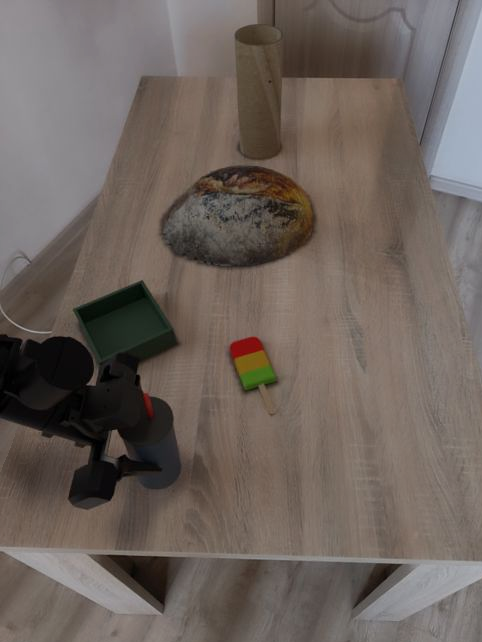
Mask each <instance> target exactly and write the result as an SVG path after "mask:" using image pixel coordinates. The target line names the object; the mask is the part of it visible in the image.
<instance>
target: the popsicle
mask: <svg viewBox="0 0 482 642" xmlns="http://www.w3.org/2000/svg"><path fill="white" fill-rule="evenodd" d="M263 346H264V345H263V344H262V341H261V340H260V338H259V337H257V336H249V337H246V338H241V339H239V340H236V341H233V342H232V343H230V346H229V352H230V355H231V358H232V360H233V363H234V366H235V368H236V371H237V373H238V376H239V379H240V381H241V384H242V386H243V389H244V390H245V391H249V390H252V389H255V388H258V389H259V391H260V394H261V397H262V399H263V401H264V405H265V406H266V409H267V411H268V414H269V415H274V414H276V409H275V407H274V405H273V402H272V400H271V398H270V395H269V392H268V390H267V388H266V385H268V384H272V383H275V382H277V375H276V373H275V372H274V369H273V367H272V364H271V363H270V360H269V357H268V356H267V353H266V351H265V349H264V347H263Z"/></svg>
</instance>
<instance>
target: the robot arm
mask: <svg viewBox="0 0 482 642" xmlns="http://www.w3.org/2000/svg"><path fill="white" fill-rule="evenodd" d="M23 341H24V340H23V339H22V338H20V337H12V336H8V334H6V333H0V419H1V420H4V421H7V422H10V423H13V424H17V425H19V426H23V427H26V428H29V429H33V430H36V431H38V432H41V435H40V436H41V437H44V438H47V439H51V438H52V437H54V436H55V437H57V438H61V439H65V440H67V441H72V442H75V443H74V447H77V448H80V449H84V448H86V447H90V450H89V455H88V458H87V459H88V460H87V463H86V464H84V465H82V466H80V467H78V468H76V469H75V470H74V471H73V475H72V480H71V484H70V487H69V492H68V496H67V500H68V502H69V503H70V504H71V505H72V506H73V507H74V508H76V509H77V508H78V509H81V510H86V511H88V510H89V511H90V510H91V509H93V508H97V507H99V506H101V505H104V504H106V503H109V502H111V501H112V499H113V498H114V496H115V493H116V487H117V483H119V482H120V481H122V479H123V478H130V477H137V476H140V475H148V474H157V473H160V472H162V468H160V467H158V466H155V465H152V464H147V463H143V462H139V461H135V460H131V459H130V458H129V456H128V454H126V453H124V454H122V455H120V456H118V457H113V456H110V455H108V453H109V448H110V443H111V438H112V433H113V431H117V429H121V428H131V427H133V426H135V425H136V424H137V423H138V421H139V418H140V406H141V400H142V399H143V396H144V393H145V392H144V391H143V389H142V384H141V381H142V378H141V377H142V376H141V375H140V374H138V370H139V364H140V362H139V358H138V357H136V356H134V355H132V354H130V353H128V352H120V353H117V354H116V355H114V356H113V357H112V358H110V359H109V360H107V361H106V362H105V363H103V364H102V365H101V366H100V365H99V368H98V373H97V375H96V380H95V384H94V385H89V383H90V382H91V380H92V378H93V376H94V373H95V363H94V359H93V356H92V354H91V352H90V351H89V349H88V348H87V347H86V346H85V345H84V343H82V342H81V341H79V340H78V339H76V338H74V337H73V336H63V335H57V336H50V337H48V338H46V339H45V340H44V341H42V342H38V341H36V340H34V339H31V338H27V339H26V340H25V341H24V342H23Z"/></svg>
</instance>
